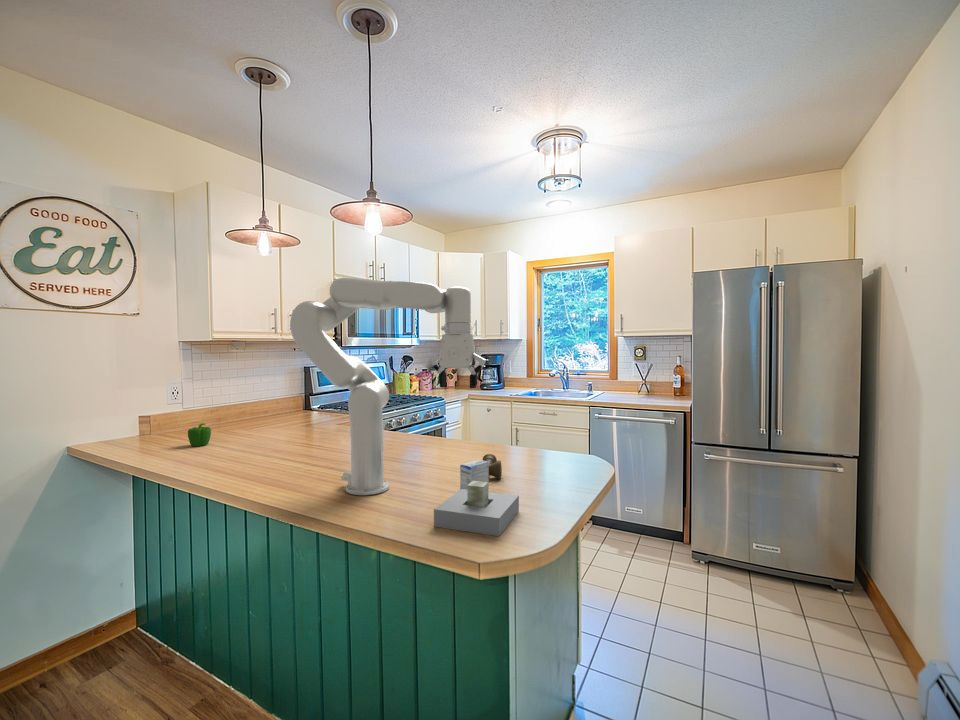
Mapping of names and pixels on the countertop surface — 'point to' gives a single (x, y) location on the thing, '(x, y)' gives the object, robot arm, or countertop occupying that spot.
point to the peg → (477, 494)
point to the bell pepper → (199, 435)
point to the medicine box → (474, 472)
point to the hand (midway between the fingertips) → (457, 387)
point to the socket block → (477, 513)
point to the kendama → (493, 465)
